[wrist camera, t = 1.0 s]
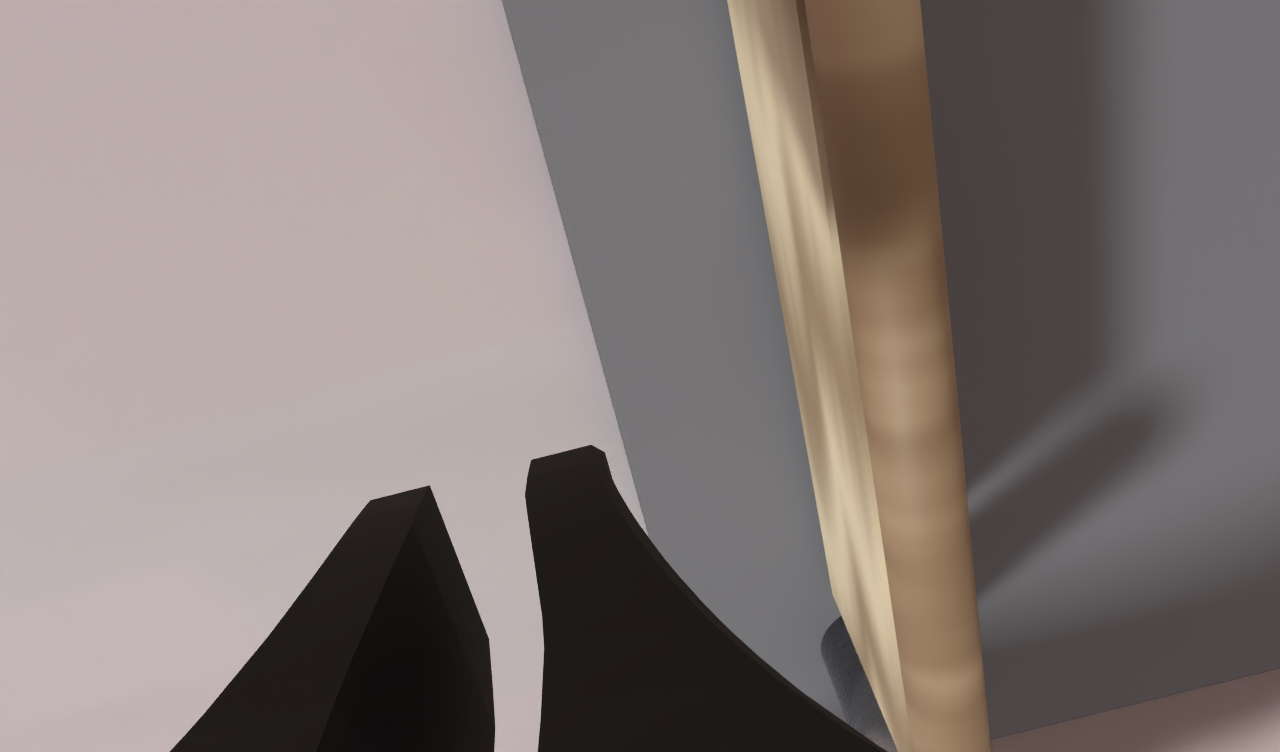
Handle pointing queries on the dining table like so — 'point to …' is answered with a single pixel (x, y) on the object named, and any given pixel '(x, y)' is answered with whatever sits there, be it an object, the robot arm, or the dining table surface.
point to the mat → (963, 328)
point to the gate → (871, 343)
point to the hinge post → (853, 686)
